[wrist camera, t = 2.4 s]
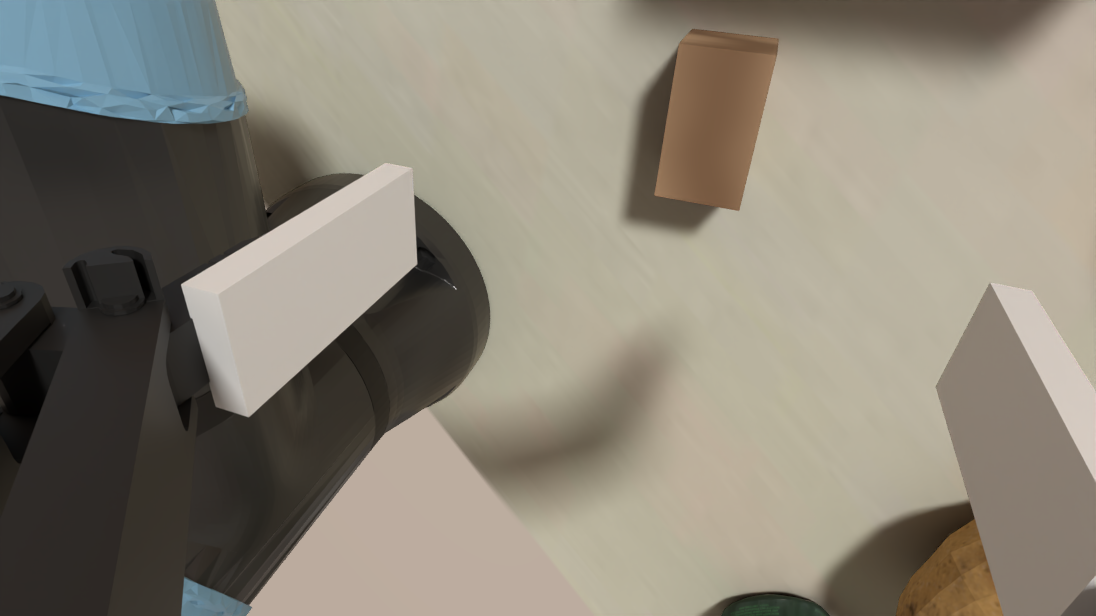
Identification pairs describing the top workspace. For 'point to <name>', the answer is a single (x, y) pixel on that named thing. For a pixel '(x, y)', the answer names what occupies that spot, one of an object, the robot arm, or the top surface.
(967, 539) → the potato
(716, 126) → the block
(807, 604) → the coffee jar
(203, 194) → the robot arm
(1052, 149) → the top surface
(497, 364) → the top surface
